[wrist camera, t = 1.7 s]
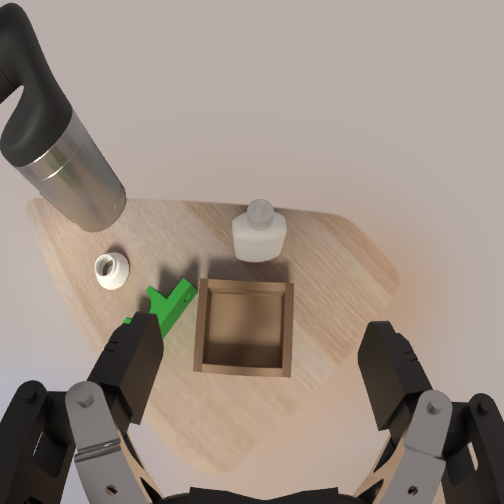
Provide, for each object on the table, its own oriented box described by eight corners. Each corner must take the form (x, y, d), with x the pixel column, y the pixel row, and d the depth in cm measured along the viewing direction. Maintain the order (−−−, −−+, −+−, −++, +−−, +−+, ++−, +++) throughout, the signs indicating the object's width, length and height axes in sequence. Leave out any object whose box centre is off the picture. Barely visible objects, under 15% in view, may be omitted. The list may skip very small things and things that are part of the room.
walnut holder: (199, 368, 30) (193, 371, 27) (206, 286, 34) (200, 278, 30) (285, 373, 30) (290, 377, 26) (288, 290, 33) (293, 283, 30)
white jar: (112, 297, 33) (137, 270, 34) (102, 293, 30) (128, 264, 32) (93, 273, 34) (116, 247, 35) (82, 266, 31) (106, 239, 33)
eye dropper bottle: (244, 226, 36) (242, 173, 25) (284, 243, 35) (300, 195, 24) (229, 256, 35) (220, 211, 24) (271, 274, 34) (282, 237, 23)
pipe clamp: (175, 274, 34) (165, 264, 30) (198, 292, 34) (191, 283, 29) (124, 343, 31) (108, 342, 27) (146, 362, 30) (132, 364, 26)
